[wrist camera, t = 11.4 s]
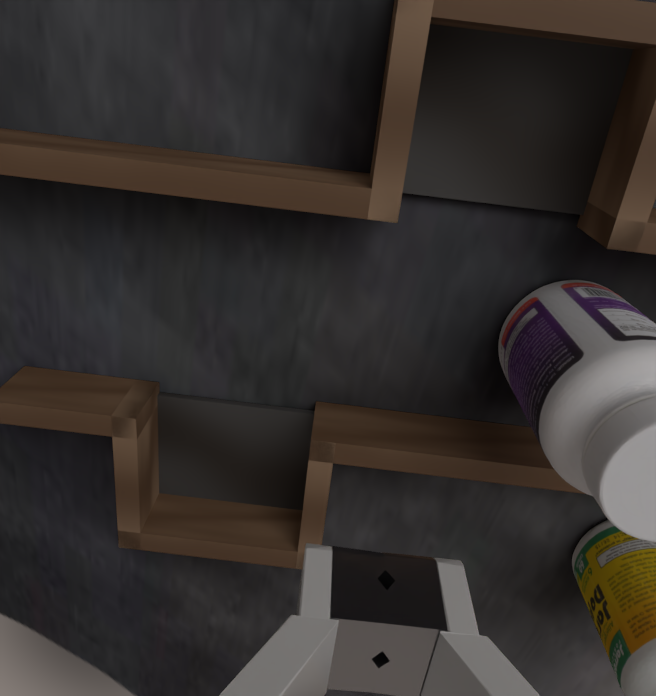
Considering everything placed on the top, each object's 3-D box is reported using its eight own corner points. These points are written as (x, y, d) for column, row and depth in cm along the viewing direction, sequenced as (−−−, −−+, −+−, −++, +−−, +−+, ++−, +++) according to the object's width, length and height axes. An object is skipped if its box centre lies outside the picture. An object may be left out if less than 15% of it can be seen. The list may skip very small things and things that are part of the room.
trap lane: (-32, -68, 19) (-97, -91, 16) (882, 45, 19) (967, 42, 16) (40, 490, 29) (8, 534, 26) (641, 562, 29) (669, 613, 26)
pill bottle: (525, 417, 26) (609, 589, 17) (474, 314, 24) (538, 446, 15) (649, 364, 24) (813, 521, 15) (605, 252, 23) (760, 355, 14)
